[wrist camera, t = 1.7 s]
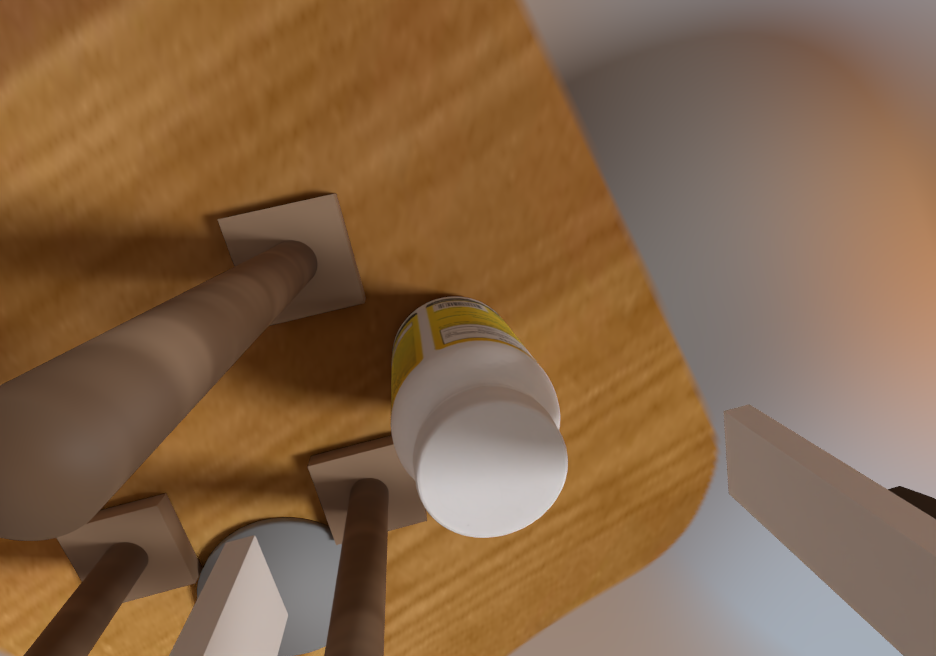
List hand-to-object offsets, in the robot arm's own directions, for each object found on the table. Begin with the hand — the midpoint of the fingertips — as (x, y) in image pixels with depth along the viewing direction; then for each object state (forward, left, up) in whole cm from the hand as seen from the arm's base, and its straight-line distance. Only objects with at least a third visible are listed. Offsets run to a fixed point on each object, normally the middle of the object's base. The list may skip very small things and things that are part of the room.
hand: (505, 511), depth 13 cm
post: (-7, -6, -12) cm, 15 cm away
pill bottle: (0, 0, -13) cm, 13 cm away
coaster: (+11, -12, -12) cm, 20 cm away
